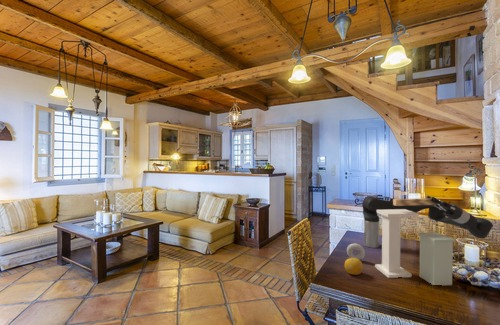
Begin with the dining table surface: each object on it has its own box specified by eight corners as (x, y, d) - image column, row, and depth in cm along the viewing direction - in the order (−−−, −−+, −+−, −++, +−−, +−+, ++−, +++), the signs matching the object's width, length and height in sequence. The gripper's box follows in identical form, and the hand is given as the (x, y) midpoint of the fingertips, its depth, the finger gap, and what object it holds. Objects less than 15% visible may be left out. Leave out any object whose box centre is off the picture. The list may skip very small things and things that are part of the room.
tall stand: (403, 266, 135) (403, 208, 134) (419, 276, 123) (420, 213, 122) (375, 267, 134) (375, 209, 133) (388, 277, 122) (389, 214, 121)
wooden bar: (436, 203, 130) (436, 198, 130) (440, 204, 128) (440, 198, 128) (393, 204, 129) (393, 199, 129) (396, 205, 126) (396, 200, 126)
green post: (436, 275, 125) (437, 232, 124) (454, 285, 115) (454, 239, 114) (417, 275, 124) (418, 233, 124) (433, 286, 114) (434, 239, 114)
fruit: (344, 275, 125) (344, 260, 125) (344, 268, 132) (344, 254, 132) (363, 278, 122) (363, 262, 122) (362, 271, 129) (362, 256, 129)
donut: (346, 259, 144) (346, 243, 144) (347, 257, 147) (347, 241, 147) (365, 263, 139) (365, 245, 139) (365, 260, 142) (365, 243, 142)
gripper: (448, 204, 137) (422, 189, 135) (472, 210, 123) (443, 193, 122) (441, 216, 137) (415, 201, 135) (464, 223, 123) (436, 206, 122)
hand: (429, 197), depth 129 cm, fingers closed on wooden bar, 2 cm apart
